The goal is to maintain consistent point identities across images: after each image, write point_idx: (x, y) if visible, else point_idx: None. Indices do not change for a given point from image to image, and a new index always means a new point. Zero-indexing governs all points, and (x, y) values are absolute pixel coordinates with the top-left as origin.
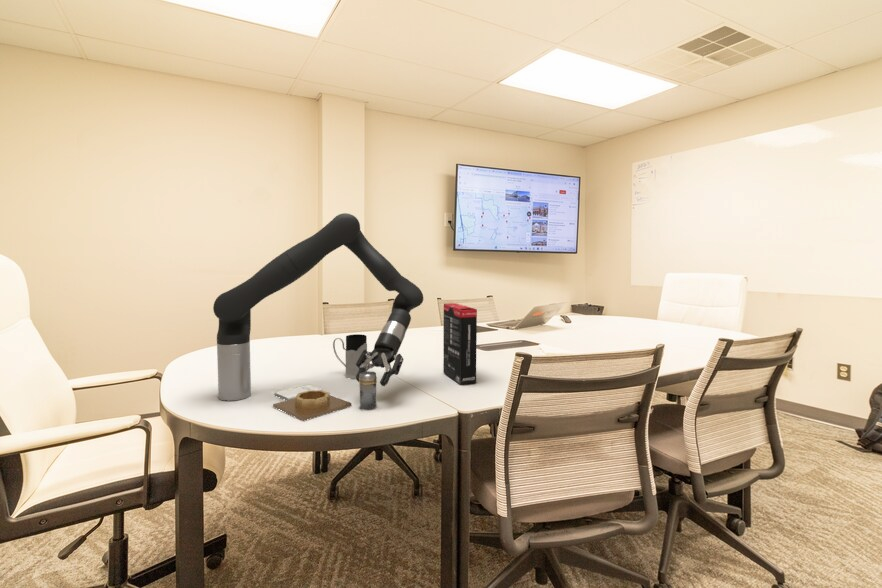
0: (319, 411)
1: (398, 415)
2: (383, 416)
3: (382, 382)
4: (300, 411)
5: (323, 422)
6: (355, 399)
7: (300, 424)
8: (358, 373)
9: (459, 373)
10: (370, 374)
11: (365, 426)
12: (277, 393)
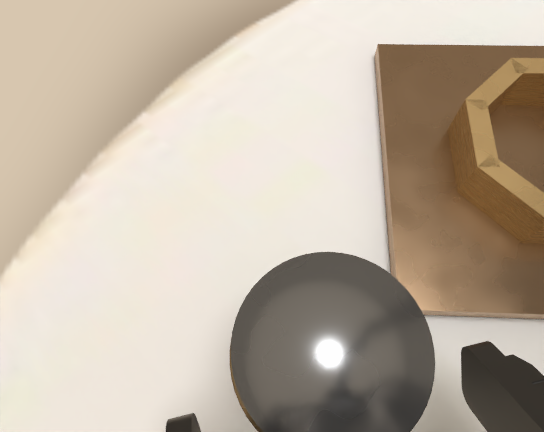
0: (399, 120)
1: (50, 395)
2: (119, 322)
3: (168, 428)
4: (461, 71)
5: (300, 96)
6: None
7: (351, 36)
8: (529, 381)
9: None
10: (280, 344)
11: (111, 175)
12: None
